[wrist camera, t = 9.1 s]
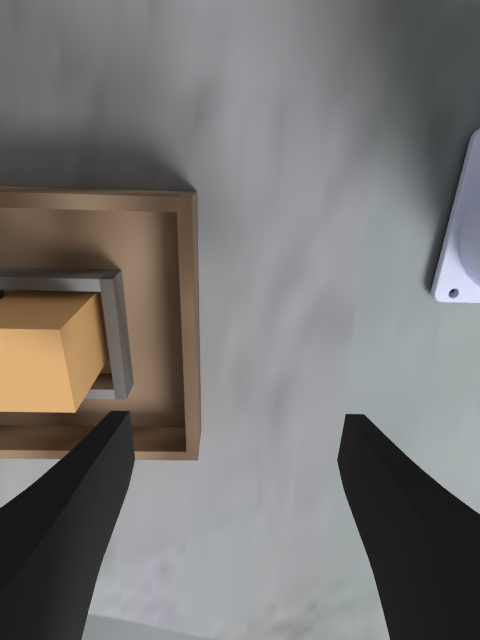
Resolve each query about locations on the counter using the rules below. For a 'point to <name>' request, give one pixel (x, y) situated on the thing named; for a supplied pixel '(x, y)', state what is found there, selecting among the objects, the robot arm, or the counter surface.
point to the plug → (49, 349)
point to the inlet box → (113, 310)
